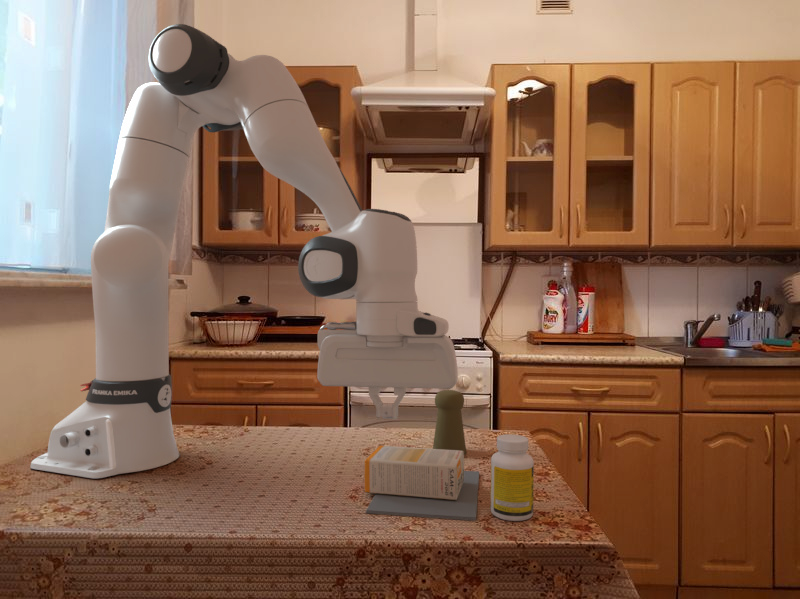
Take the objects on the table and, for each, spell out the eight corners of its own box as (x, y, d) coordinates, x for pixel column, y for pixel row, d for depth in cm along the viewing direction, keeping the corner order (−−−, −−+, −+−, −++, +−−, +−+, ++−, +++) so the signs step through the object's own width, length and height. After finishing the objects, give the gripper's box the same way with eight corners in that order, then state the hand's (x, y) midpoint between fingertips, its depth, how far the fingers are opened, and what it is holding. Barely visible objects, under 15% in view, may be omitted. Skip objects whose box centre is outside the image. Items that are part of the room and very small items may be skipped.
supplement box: (363, 494, 77) (457, 502, 74) (363, 459, 77) (457, 466, 74) (379, 475, 85) (465, 482, 82) (379, 444, 85) (465, 449, 82)
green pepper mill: (473, 453, 98) (473, 391, 97) (446, 459, 94) (447, 395, 94) (451, 445, 103) (451, 386, 102) (425, 451, 99) (425, 389, 99)
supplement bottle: (540, 521, 69) (540, 442, 69) (498, 524, 68) (499, 444, 68) (523, 504, 74) (524, 431, 74) (484, 507, 73) (485, 433, 73)
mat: (366, 513, 71) (366, 510, 71) (391, 469, 89) (391, 466, 89) (475, 520, 69) (475, 517, 69) (479, 474, 87) (479, 471, 87)
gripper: (310, 322, 78) (311, 420, 78) (455, 323, 75) (456, 425, 75) (323, 320, 84) (324, 411, 85) (458, 321, 81) (458, 415, 81)
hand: (387, 417), depth 80 cm, fingers closed
